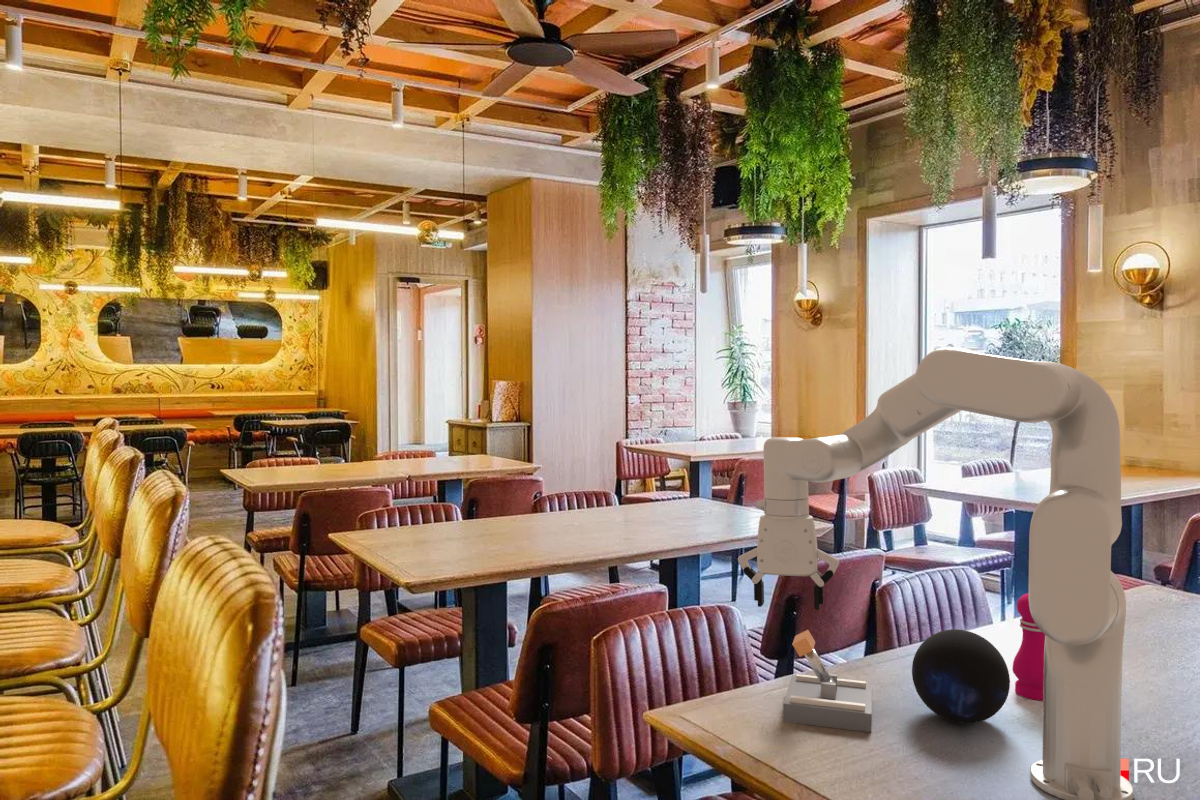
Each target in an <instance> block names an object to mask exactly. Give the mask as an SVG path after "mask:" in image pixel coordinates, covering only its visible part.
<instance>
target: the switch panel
mask: <svg viewBox="0 0 1200 800" xmlns="http://www.w3.org/2000/svg"><path fill="white" fill-rule="evenodd" d="M829 675H830V677H831V678H833V679H834V680H835V682H836V683H830V682H820V681H819V679H818V677H817V676H816V675H809V674H800V673H797V674H796V675H795V676H794V675H791V677H790V681H789V684H788V687H787V689H786V690H787V691H786V695H785V697H784V701H783V705H782V706H783V708H782V709H783V713H782V714H783V716H782V717H783V718H782V719H783V720H782V722H786V723H794V724H801V725H802V724H803V725H808V726H809V725H810V726H816V727H817V726H818V727H825V728H832V729H833V728H834V729H842V730H849V731H857V732H867V733H872V723H873V722H872V721H873V718H872V717H873V714H872V713H873V684H869V683H867V681H865V680H858V679H857V680H855V679H848V678H847V679H846V678H838V673H829Z"/></svg>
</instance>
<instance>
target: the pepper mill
mask: <svg viewBox="0 0 1200 800" xmlns="http://www.w3.org/2000/svg"><path fill="white" fill-rule="evenodd" d="M1016 609H1017V612H1018V614H1019V615H1020V616H1021V617H1020V618H1019V622H1020V623H1019V627H1020V628H1021V629H1022V639H1021V643H1020V647H1019V648H1018V651H1017V652H1016V655H1015V656H1014V658H1013V662H1012V672H1013V675H1015V677H1016V678H1017V680H1016V681H1015V684H1014V685H1015V686H1014V691H1015V694H1017V695H1018V696H1019V697H1023V698H1025V699H1028V700H1033V701H1042V702H1043V678H1044V646H1045V634H1044V633H1043V632H1042V631H1041V630H1040V629H1039V628H1038V626H1037V625H1036V623H1035V622H1034V620H1033V618H1032V615H1031V612H1030V607H1029V592H1027V593H1024V594H1022V595H1021V596H1020V597H1019V598H1018V600H1017V603H1016Z"/></svg>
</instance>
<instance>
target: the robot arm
mask: <svg viewBox="0 0 1200 800" xmlns="http://www.w3.org/2000/svg"><path fill="white" fill-rule="evenodd" d="M962 411H964V412H968V413H972V414H973V413H975V414H979V415H984V416H990V417H994V418H999V419H1004V420H1008V421H1009V420H1010V421H1014V422H1018V423H1027V424H1028V423H1029V424H1032V423H1033V424H1034V423H1035V424H1036V423H1043V422H1047V423H1048V424H1049V426H1050V429H1051V433H1052V434H1051V435H1052V439H1051V449H1050V481H1049V483H1050V484H1049V493H1048V495H1046V496H1045V497H1043V499H1042V500H1041V501H1039V503H1038V504H1037V506H1036V507H1035V509H1034V511H1033V514H1032V516H1031V520H1030V525H1029V535H1028V536H1029V538H1028V540H1029V541H1028V543H1029V545H1028V549H1029V550H1028V593H1029V607H1030V612H1031V615H1032V618H1033V620H1034V622H1035V623H1036V625H1037V626H1038V628H1039V629H1040V630H1041V631H1042V632H1043V633H1044V634H1045V646H1044V678H1043V701H1042V702H1043V703H1042V759H1040V760H1037V761H1036V762H1034V763H1033V764H1031V765H1030V770H1029V775H1030V780H1031V781H1032V783H1034V784H1035V785H1036V786H1037V787H1038V788H1039V789H1040V790H1042V791H1044V792H1046V793H1048V794H1049V795H1051V796H1054V797H1056V798H1058V799H1061V800H1133V799H1134V790H1135V789H1134V787H1133V785H1132V784H1131V782H1130V781H1129V780H1128V779H1127V778H1125V777H1124V776H1122V775H1121V768H1122V767H1121V764H1122V763H1121V761H1122V760H1121V759H1122V757H1121V756H1122V752H1121V751H1122V750H1121V749H1122V699H1123V698H1122V695H1123V694H1122V690H1123V656H1124V655H1123V654H1124V639H1125V638H1124V635H1125V628H1126V627H1125V626H1126V615H1127V602H1126V601H1127V600H1126V593H1125V590H1124V587H1123V585H1122V582H1121V581H1120V579H1119V578H1118V577H1117V576H1116V574H1115V573H1114V572H1113V571H1112V570H1111V569H1112V567H1111V566H1112V565H1111V564H1112V546H1113V544H1114V543H1115V542H1116V541H1117V540H1118V538H1119V536H1120V534H1121V531H1122V526H1123V519H1122V517H1123V515H1122V481H1121V480H1122V467H1121V463H1122V462H1121V428H1120V427H1121V426H1120V422H1119V421H1120V420H1119V417H1118V412H1117V409H1116V406H1115V404H1114V402H1113V400H1112V398H1111V397H1110V395H1109V394H1108V392H1107V391H1106V390H1105V388H1104V387H1102V385H1101V384H1100V383H1099V382H1098V381H1096V380H1095V379H1094V378H1092V377H1091V376H1089V375H1088V374H1086V373H1084V372H1082V371H1081V370H1078V369H1076V368H1074V367H1071V366H1068V365H1066V364H1063V363H1059V362H1053V361H1048V360H1047V361H1045V360H1042V361H1040V360H1028V359H1024V358H1021V359H1020V358H1015V357H1008V356H1001V355H994V354H987V353H983V352H978V351H975V350H973V349H970V348H964V347H954V346H947V347H946V346H945V347H939V348H937V349H935V350H933V351H931V352H929V353H928V354H926V355H925V356H924V357H923V359H921V360H920V362H919V364H918V365H917V368H916V371H915V373H913V374H912V375H910V376H908V377H907V378H905V379H904V380H902V381H900V382H899V383H897V384H895V385H893V387H891V388H890V389H887V390H886V391H884V392H883V393H881V394H880V396H879V397H878V399H877V403H876V407H875V409H874V410H873V411H872V412H871V413H870V414H868V415H867V416H866V417H865V418H863V419H862V420H860V421H858V423H856V424H854V425H853V426H851V427H849V428H847V429H846V430H845V431H842V432H841V433H839V434H837V435H829V436H828V435H827V436H821V437H813V438H805V439H803V438H801V437H793V436H791V437H790V436H789V437H786V436H785V437H779V436H778V437H771V438H767V439H766V440H765V441H764V442H763V443H764V444H763V450H762V451H763V453H762V454H763V482H764V483H763V485H764V487H763V489H764V491H763V493H764V498H763V499H762V500H758V501H757V500H756V504H755V505H756V506H755V507H756V509H758V510H761V511H762V512H763V515H762V514H761V516H760V518H759V522H758V531H757V541H756V543H757V547H755V548H753V549H751V550H749V551H746V552H745V553H743V554H741V555H739V556H738V558H737V563H739V565H740V567H741V569H742V572H743V573H744V574H745V576H746V577H748V578H749V579H750V580H751V582H752V584H753V594H754V595H753V597H754V598H753V599H754V601H757V607H758V608H761V607H763V606H764V604H765V583H764V581H763V578H764V576H765V575H768V576H789V577H790V576H791V577H810V578H811V580H812V581H814V583H815V584H814V586H813V596H814V599H813V603H814V604H813V605H814V610H816V611H819V610H820V607H821V605H824V596H825V595H824V586H825V584H826V583H827V582H828V581H830V580H831V579H832V578H833V577H834V575H835V573H836V571H837V569H838V567H839V566H840V560H839V559H838V558H836V557H834V556H832V555H831V554H829V553H828V552H827V553H826V552H825V551H823V550H821V549H819V548H818V541H817V539H818V538H817V532H816V531H817V530H816V525H815V521H814V517H813V516H812V515H810V508H809V507H810V506H809V505H810V502H809V501H810V500H809V496H810V495H809V482H812V483H818V484H819V483H821V484H823V483H829V482H834V481H838V480H843V479H847V478H851V477H853V476H856V475H858V474H859V473H861V472H862V471H865V470H866V469H868V468H869V467H871V466H873V465H875V464H877V463H878V462H881V461H882V460H883V459H885V458H887V457H888V456H890V455H892V454H893V453H894V452H896V451H897V450H899V449H901V448H902V447H903V446H905V445H907V444H908V443H910V442H911V441H912V440H913V439H915V438H916V437H918V436H920V435H922V434H923V433H925V432H928V431H929V430H931V428H934V427H936V426H937V425H938V424H941V423H943V422H944V421H945V420H948V419H949V418H950V417H953V416H955V415H956V414H958V413H960V412H962ZM754 558H756V564H757V566H756V567H757V571H755V569H753V568H752V567H751V565H750V563H749V561H751V560H752V559H754ZM819 560H821V561H823V562H824V563H827V564H828V565H829V566H828V568H827V570H825V571H824V573H822V574H821V572H820V571H819V570H818V566H819Z"/></svg>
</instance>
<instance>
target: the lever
mask: <svg viewBox="0 0 1200 800" xmlns="http://www.w3.org/2000/svg"><path fill="white" fill-rule="evenodd" d="M815 645H816V641H815V639H814V637H813V635H812V634H811V632H810V630H809V629H806V630H804V631H802V632H800V633H798V634H796V635H794V638H793V641H792V646H793V648H794V650H795V651H796V653H797V655H798V657H799V658H800V657H803V656H804V657H805V658H806V660H807V662H808V664H809V665H810V667H811V669H812V670H813V673H814V674H815V676H817V677H818V679H819V681H820V682H830V683H836V682H835V680H834V679H833V678H831V677H830V675H829V674H830V673H829V672H828V670H827V668H826V667H825V665H824V663H823V662H822V661H823V660H821V658H820V656H819V655H818V653H817V651H816V650H815Z"/></svg>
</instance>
